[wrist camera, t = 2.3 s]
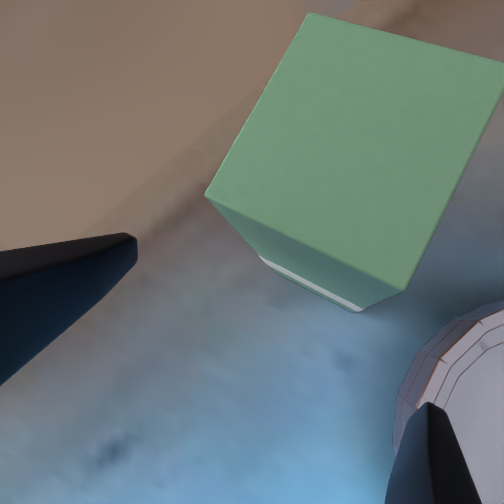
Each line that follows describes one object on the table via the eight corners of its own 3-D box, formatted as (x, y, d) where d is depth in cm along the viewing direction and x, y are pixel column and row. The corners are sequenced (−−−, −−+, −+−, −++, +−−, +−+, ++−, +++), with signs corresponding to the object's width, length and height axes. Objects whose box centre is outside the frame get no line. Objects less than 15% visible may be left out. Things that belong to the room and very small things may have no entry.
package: (354, 314, 20) (405, 294, 7) (273, 272, 21) (200, 195, 9) (399, 225, 20) (520, 63, 8) (317, 190, 22) (308, 8, 9)
